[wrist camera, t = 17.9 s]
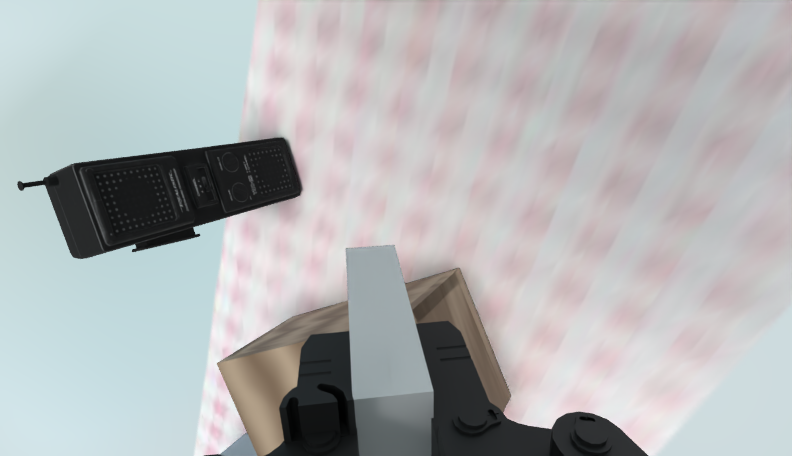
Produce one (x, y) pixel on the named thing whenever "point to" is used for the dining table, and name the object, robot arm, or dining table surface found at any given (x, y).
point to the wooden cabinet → (281, 347)
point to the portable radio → (165, 193)
